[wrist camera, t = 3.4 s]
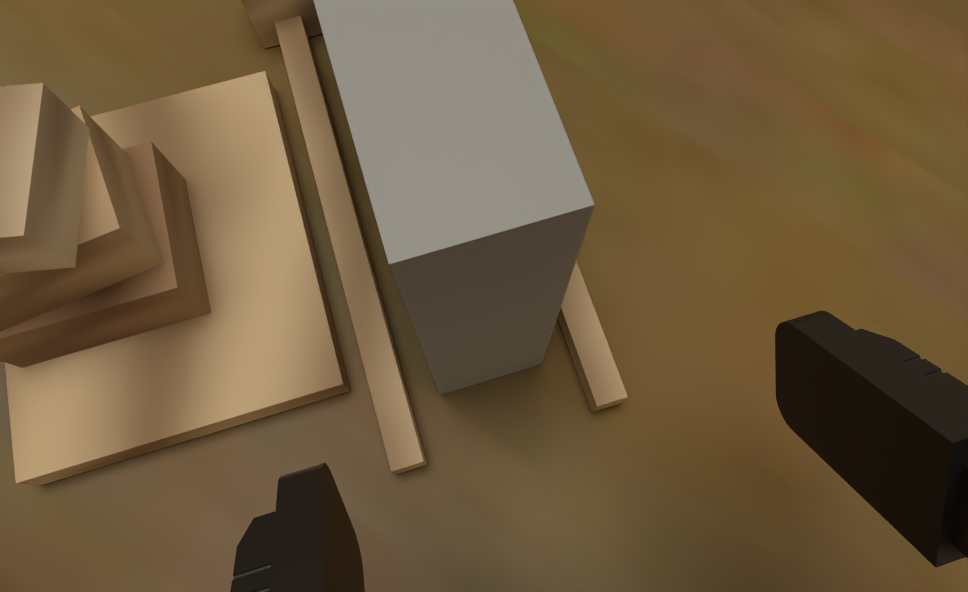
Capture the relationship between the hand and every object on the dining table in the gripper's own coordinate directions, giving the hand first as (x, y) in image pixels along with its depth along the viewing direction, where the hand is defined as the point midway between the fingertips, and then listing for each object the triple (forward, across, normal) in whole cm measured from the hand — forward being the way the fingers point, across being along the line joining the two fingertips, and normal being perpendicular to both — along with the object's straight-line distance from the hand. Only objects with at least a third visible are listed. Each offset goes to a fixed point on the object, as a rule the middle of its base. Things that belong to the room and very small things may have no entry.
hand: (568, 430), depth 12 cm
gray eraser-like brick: (+15, 0, 0) cm, 15 cm away
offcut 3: (+14, -11, +1) cm, 18 cm away
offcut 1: (+10, -11, +4) cm, 16 cm away
